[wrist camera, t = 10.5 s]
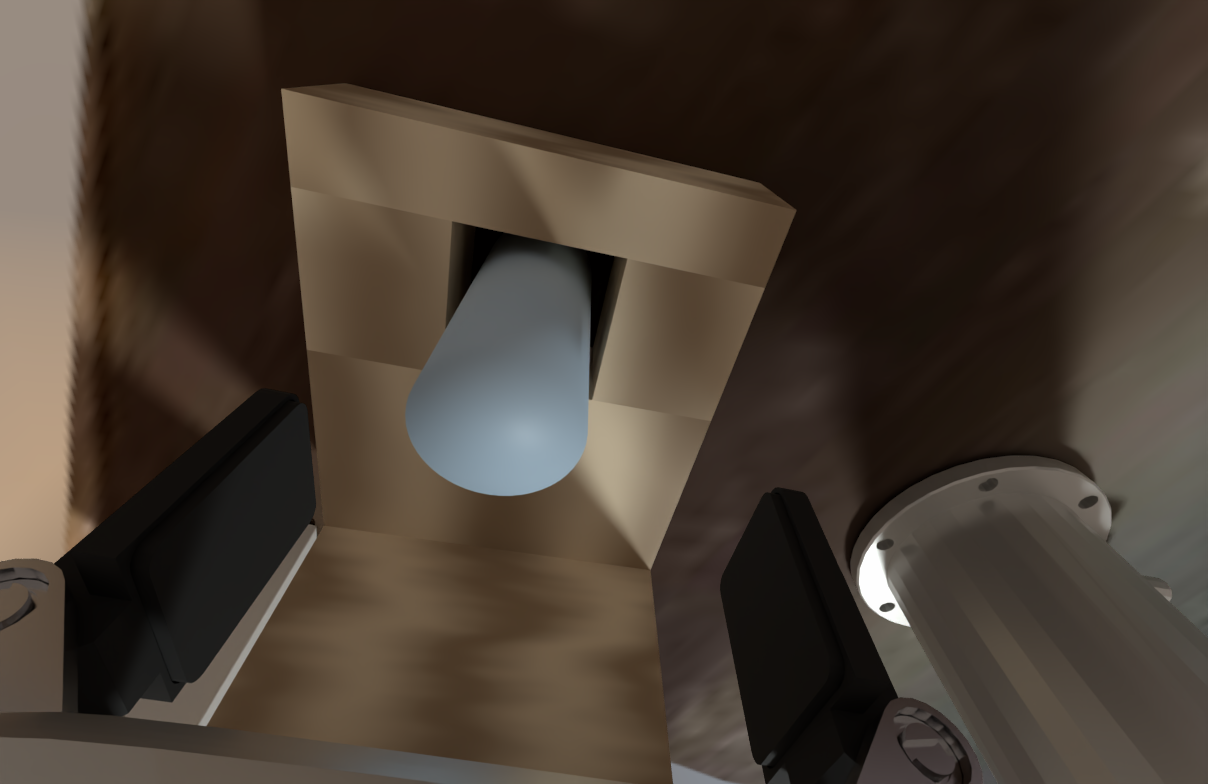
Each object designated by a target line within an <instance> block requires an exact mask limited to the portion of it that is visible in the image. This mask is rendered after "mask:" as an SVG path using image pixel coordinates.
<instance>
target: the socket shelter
mask: <svg viewBox="0 0 1208 784" xmlns="http://www.w3.org/2000/svg"><path fill="white" fill-rule="evenodd" d="M281 92H282V102H283V112H284V122H285V133H286V143H287V153H288V163H289V173H290V184H291V194H292V204H293V214H294V225H295V235H296V245H297V255H298V265H299V276H300V286H301V296H302V306H303V316H304V327H305V337H306V347H307V357H308V367H309V378H310V388H311V398H312V408H313V419H314V429H315V439H316V449H317V459H318V470H319V480H320V490H321V500H322V510H323V521H324V526H323V528H322V530H321V532H320V533H319V535H318V537H317V538H316V540H315V542H314V543H313V545H312V547H311V549H310V550H309V552H308V554H307V555H306V557H305V559H304V561H303V562H302V564H301V566H300V567H299V569H298V571H297V572H296V574H295V576H294V578H293V579H292V581H291V583H290V584H289V586H288V588H287V589H286V591H285V593H284V595H283V596H282V598H281V600H280V601H279V603H278V605H277V607H276V608H275V610H274V612H273V613H272V615H271V617H270V618H269V620H268V622H267V624H266V625H265V627H264V629H263V630H262V632H261V634H260V635H259V637H258V639H257V641H256V642H255V644H254V646H253V647H252V649H251V651H250V653H249V654H248V656H247V658H246V659H245V661H244V663H243V664H242V666H241V668H240V670H239V671H238V673H237V675H236V676H235V678H234V680H233V681H232V683H231V685H230V687H229V688H228V690H227V692H226V693H225V695H224V697H223V699H222V700H221V702H220V704H219V705H218V707H217V709H216V710H215V712H214V714H213V716H212V717H211V719H210V721H209V722H208V724H207V726H209V727H218V728H227V729H234V730H242V731H249V732H257V733H265V734H272V735H280V736H288V737H295V738H303V739H310V740H318V741H326V742H333V743H341V744H349V745H356V746H364V747H371V748H379V749H387V750H394V751H401V752H409V753H416V754H423V755H431V756H438V757H445V758H453V759H460V760H468V761H475V762H482V763H490V764H497V765H504V766H511V767H519V768H526V769H533V770H540V771H548V772H555V773H562V774H570V775H577V776H584V777H591V778H598V779H605V780H612V781H619V782H626V783H633V784H673V781H672V771H671V761H670V752H669V742H668V733H667V724H666V714H665V705H664V695H663V686H662V676H661V667H660V657H659V648H658V639H657V629H656V620H655V610H654V601H653V591H652V582H651V572H650V570H651V567H652V565H653V562H654V560H655V557H656V555H657V552H658V550H659V547H660V545H661V542H662V540H663V538H664V535H665V533H666V530H667V528H668V525H669V523H670V520H671V518H672V515H673V513H674V511H675V508H676V506H677V503H678V501H679V498H680V496H681V493H682V491H683V488H684V486H685V483H686V481H687V479H688V476H689V474H690V471H691V469H692V466H693V464H694V461H695V459H696V456H697V454H698V452H699V449H700V447H701V444H702V442H703V439H704V437H705V434H706V432H707V429H708V427H709V424H710V422H711V420H712V417H713V415H714V412H715V410H716V407H717V405H718V402H719V400H720V397H721V395H722V392H723V390H724V388H725V385H726V383H727V380H728V378H729V375H730V373H731V370H732V368H733V365H734V363H735V361H736V358H737V356H738V353H739V351H740V348H741V346H742V343H743V341H744V338H745V336H746V333H747V331H748V329H749V326H750V324H751V321H752V319H753V316H754V314H755V311H756V309H757V306H758V304H759V302H760V299H761V297H762V294H763V292H764V289H765V287H766V284H767V282H768V279H769V277H770V274H771V272H772V270H773V267H774V265H775V262H776V260H777V257H778V255H779V252H780V250H781V247H782V245H783V243H784V240H785V238H786V235H787V233H788V230H789V228H790V225H791V223H792V220H793V218H794V215H795V213H796V211H797V210H796V209H794V208H793V207H792V206H790V205H789V204H787V203H786V202H785V201H783V200H782V199H781V198H779V197H778V196H777V195H775V194H774V193H773V192H771V191H770V190H769V189H767V188H766V187H765V186H763V185H762V184H761V183H759V182H754V181H750V180H746V179H742V178H738V177H734V176H729V175H725V174H721V173H717V172H713V171H709V170H705V169H700V168H696V167H692V166H688V165H684V164H680V163H676V162H671V161H667V160H663V159H659V158H655V157H651V156H646V155H642V154H638V153H634V152H630V151H626V150H622V149H617V148H613V147H609V146H605V145H601V144H597V143H592V142H588V141H584V140H580V139H576V138H572V137H568V136H563V135H559V134H555V133H551V132H547V131H543V130H539V129H534V128H530V127H526V126H522V125H518V124H514V123H509V122H505V121H501V120H497V119H493V118H489V117H485V116H480V115H476V114H472V113H468V112H464V111H460V110H455V109H451V108H447V107H443V106H439V105H435V104H431V103H426V102H422V101H418V100H414V99H410V98H406V97H402V96H397V95H393V94H389V93H385V92H381V91H377V90H372V89H368V88H364V87H360V86H356V85H352V84H348V83H341V84H329V85H318V86H306V87H294V88H283V89H281ZM476 226H477V227H481V228H486V229H491V230H495V231H500V232H505V233H510V234H514V235H519V236H524V237H528V238H533V239H538V240H542V241H547V242H552V243H556V244H561V245H566V246H570V247H575V248H580V249H584V250H589V251H594V252H598V253H603V254H608V255H612V256H614V260H613V264H612V268H611V273H610V277H609V281H608V285H607V290H606V294H605V298H604V302H603V307H602V311H601V315H600V319H599V324H598V328H597V332H596V336H595V341H594V345H593V347H590V362H589V402H588V436H587V442H586V446H585V449H584V452H583V454H582V456H581V458H580V460H579V461H578V463H577V464H576V465H575V467H574V468H573V469H572V470H571V471H570V472H569V473H568V474H567V475H566V476H565V477H563V478H562V479H561V480H560V481H558V482H556V483H555V484H553V485H551V486H549V487H547V488H544V489H542V490H539V491H536V492H533V493H528V494H523V495H514V496H497V495H488V494H483V493H478V492H474V491H471V490H468V489H465V488H463V487H460V486H458V485H456V484H454V483H452V482H450V481H448V480H446V479H445V478H443V477H442V476H440V475H439V474H438V473H436V472H435V471H434V470H433V469H432V468H430V467H429V466H428V465H427V464H426V463H425V461H424V460H423V459H422V458H421V457H420V455H419V454H418V453H417V451H416V449H415V448H414V446H413V444H412V442H411V440H410V437H409V435H408V431H407V427H406V419H405V411H406V403H407V400H408V396H409V394H410V391H411V389H412V387H413V385H414V384H415V382H416V380H417V378H418V377H419V375H420V373H421V371H422V370H423V368H424V366H425V364H426V363H427V361H428V359H429V357H430V356H431V354H432V352H433V350H434V349H435V347H436V345H437V343H438V342H439V340H440V338H441V336H442V335H443V333H444V331H445V329H446V328H447V326H448V324H449V322H450V321H451V319H452V317H453V315H454V314H455V312H456V310H457V308H458V307H459V305H460V303H461V301H462V300H463V298H464V296H465V294H466V293H467V291H468V289H469V287H470V286H471V274H472V263H473V251H474V239H475V228H476Z"/></svg>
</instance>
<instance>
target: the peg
mask: <svg viewBox="0 0 1208 784" xmlns="http://www.w3.org/2000/svg"><path fill="white" fill-rule="evenodd" d="M591 281H592V271H591V265H590V261H589V258H588V255H587V253H586V251H585V250H584V249H580V248H575V247H570V246H566V245H561V244H556V243H552V242H547V241H542V240H538V239H533V238H528V237H524V236H519V235H514V234H510V233H503V234H502V235H501V236H500V237H499V238H498V239H497V241H496V242H495V244H494V245H493V247H492V249H491V251H490V252H489V254H488V256H487V258H486V259H485V261H484V263H483V265H482V266H481V268H480V270H479V272H478V273H477V275H476V277H475V279H474V280H473V282H472V284H471V286H470V287H469V289H468V291H467V293H466V294H465V296H464V298H463V300H462V301H461V303H460V305H459V307H458V308H457V310H456V312H455V314H454V315H453V317H452V319H451V321H450V322H449V324H448V326H447V328H446V329H445V331H444V333H443V335H442V336H441V338H440V340H439V342H438V343H437V345H436V347H435V349H434V350H433V352H432V354H431V356H430V357H429V359H428V361H427V363H426V364H425V366H424V368H423V370H422V371H421V373H420V375H419V377H418V378H417V380H416V382H415V384H414V385H413V387H412V389H411V391H410V394H409V396H408V400H407V403H406V411H405V419H406V427H407V431H408V435H409V437H410V440H411V442H412V444H413V446H414V448H415V449H416V451H417V453H418V454H419V455H420V457H421V458H422V459H423V460H424V461H425V463H426V464H427V465H428V466H429V467H430V468H432V469H433V470H434V471H435V472H436V473H438V474H439V475H440V476H442V477H443V478H445V479H446V480H448V481H450V482H452V483H454V484H456V485H458V486H460V487H463V488H465V489H468V490H471V491H474V492H478V493H483V494H488V495H497V496H514V495H523V494H528V493H533V492H536V491H539V490H542V489H544V488H547V487H549V486H551V485H553V484H555V483H556V482H558V481H560V480H561V479H562V478H563V477H565V476H566V475H567V474H568V473H569V472H570V471H571V470H572V469H573V468H574V467H575V465H576V464H577V463H578V461H579V460H580V458H581V456H582V454H583V452H584V449H585V446H586V442H587V436H588V402H589V362H590V321H591Z"/></svg>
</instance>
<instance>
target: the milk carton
mask: <svg viewBox="0 0 1208 784" xmlns="http://www.w3.org/2000/svg"><path fill="white" fill-rule="evenodd" d="M316 538H317V533H316V526H315V525H311V524H308V526H307V527H306V529H305V530H304V531H303V533H302V534H301V536H300V537H299V539H298V540H297V541H296V543H295V544H294V546H293V547H292V549H291V550H290V551H289V553H288V554H287V556H286V557H285V558H284V560H283V561H282V563H281V564H280V566H279V567H278V568H277V570H276V571H275V573H274V574H273V575H272V577H271V578H270V580H269V581H268V583H267V584H266V585H265V587H264V588H263V590H262V591H261V593H260V594H259V595H258V597H257V598H256V600H255V601H254V602H253V604H252V605H251V607H250V608H249V610H248V611H247V612H246V614H245V615H244V617H243V618H242V619H241V621H240V622H239V624H238V625H237V627H236V628H235V629H234V631H233V632H232V634H231V635H230V636H229V638H228V639H227V641H226V642H225V644H224V645H223V646H222V648H221V649H220V651H219V652H218V654H217V655H216V656H215V658H214V659H213V661H212V662H211V663H210V665H209V666H208V668H207V669H206V671H205V672H204V673H203V674H202V676H201V677H200V678H199V679H198V680H197V681H195V682H193V683H186V684H185V686H184V687H183V688H182V690H181V691H180V693H179V694H178V695H177V697H176V698H175V699H174V701H173V702H172V703H171V702H164V701H156V700H149V699H142V698H140V699H139V701H138V702H137V703H136V704H135V706H134V707H133V708H132V710H131V711H130V712H129V713H128V714H126V715H125V717H130V718H139V719H148V720H156V721H165V722H174V723H183V724H192V725H201V726H207V724H208V722H209V721H210V719H211V717H212V716H213V714H214V712H215V710H216V709H217V707H218V705H219V704H220V702H221V700H222V699H223V697H224V695H225V693H226V692H227V690H228V688H229V687H230V685H231V683H232V681H233V680H234V678H235V676H236V675H237V673H238V671H239V670H240V668H241V666H242V664H243V663H244V661H245V659H246V658H247V656H248V654H249V653H250V651H251V649H252V647H253V646H254V644H255V642H256V641H257V639H258V637H259V635H260V634H261V632H262V630H263V629H264V627H265V625H266V624H267V622H268V620H269V618H270V617H271V615H272V613H273V612H274V610H275V608H276V607H277V605H278V603H279V601H280V600H281V598H282V596H283V595H284V593H285V591H286V589H287V588H288V586H289V584H290V583H291V581H292V579H293V578H294V576H295V574H296V572H297V571H298V569H299V567H300V566H301V564H302V562H303V561H304V559H305V557H306V555H307V554H308V552H309V550H310V549H311V547H312V545H313V543H314V542H315V540H316Z"/></svg>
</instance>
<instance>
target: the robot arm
mask: <svg viewBox="0 0 1208 784" xmlns="http://www.w3.org/2000/svg"><path fill="white" fill-rule="evenodd" d="M315 508H316V499H315V488H314V477H313V466H312V455H311V444H310V434H309V423H308V412H307V407H306V405H305V404H303V403H299V399H298V397H297V395H295V394H292V393H287V392H281V391H276V390H271V389H266V388H264V389H260V390H258V391H257V392H255V393H254V394H253V395H252V396H251V397H249V398H248V399H247V400H246V401H245V402H244V403H242V404H241V405H240V406H239V407H238V408H237V409H235V410H234V411H233V412H232V413H231V414H230V415H228V416H227V417H226V418H225V419H224V420H222V421H221V422H220V423H219V424H218V425H217V426H215V427H214V428H213V429H212V430H211V431H210V432H208V433H207V434H206V435H205V436H204V437H203V438H201V439H200V440H199V441H198V442H197V443H195V444H194V445H193V446H192V447H191V448H190V449H188V450H187V451H186V452H185V453H184V454H182V455H181V456H180V457H179V458H178V459H176V460H175V461H174V462H173V463H172V464H171V465H169V466H168V467H167V468H166V469H165V470H164V471H162V472H161V473H160V474H159V475H158V476H156V477H155V478H154V479H153V480H152V481H151V482H149V483H148V484H147V485H146V486H145V487H144V488H142V489H141V490H140V491H139V492H138V493H137V494H135V495H134V496H133V497H132V498H131V499H129V500H128V501H127V502H126V503H125V504H124V505H122V506H121V507H120V508H119V509H118V510H117V511H115V512H114V513H113V514H112V515H111V516H110V517H108V518H107V519H106V520H105V521H104V522H102V523H101V524H100V525H99V526H98V527H97V528H95V529H94V530H93V531H92V532H91V533H90V534H88V535H87V536H86V537H85V538H84V539H82V540H81V541H80V542H79V543H78V544H77V545H75V546H74V547H73V548H72V549H71V550H70V551H68V552H67V553H66V554H65V555H64V556H63V557H61V558H60V559H59V560H58V561H57V562H55V563H54V564H53V563H52V562H48V561H43V560H39V559H12V560H7V561H1V562H0V784H633V783H626V782H619V781H612V780H605V779H598V778H591V777H584V776H577V775H570V774H562V773H555V772H548V771H540V770H533V769H526V768H519V767H511V766H504V765H497V764H490V763H482V762H475V761H468V760H460V759H453V758H445V757H438V756H431V755H423V754H416V753H409V752H401V751H394V750H387V749H379V748H371V747H364V746H356V745H349V744H341V743H333V742H326V741H318V740H310V739H303V738H295V737H288V736H280V735H272V734H265V733H257V732H249V731H242V730H234V729H227V728H218V727H209V726H201V725H192V724H183V723H174V722H165V721H156V720H148V719H139V718H130V717H125V715H126V714H128V713H129V712H130V711H131V710H132V708H133V707H134V706H135V704H136V703H137V702H138V701H139V699H140V698H142V699H149V700H156V701H164V702H171V703H172V702H173V701H174V699H175V698H176V697H177V695H178V694H179V693H180V691H181V690H182V688H183V687H184V686H185V684H186V683H193V682H195V681H197V680H198V679H199V678H200V677H201V676H202V674H203V673H204V672H205V671H206V669H207V668H208V666H209V665H210V663H211V662H212V661H213V659H214V658H215V656H216V655H217V654H218V652H219V651H220V649H221V648H222V646H223V645H224V644H225V642H226V641H227V639H228V638H229V636H230V635H231V634H232V632H233V631H234V629H235V628H236V627H237V625H238V624H239V622H240V621H241V619H242V618H243V617H244V615H245V614H246V612H247V611H248V610H249V608H250V607H251V605H252V604H253V602H254V601H255V600H256V598H257V597H258V595H259V594H260V593H261V591H262V590H263V588H264V587H265V585H266V584H267V583H268V581H269V580H270V578H271V577H272V575H273V574H274V573H275V571H276V570H277V568H278V567H279V566H280V564H281V563H282V561H283V560H284V558H285V557H286V556H287V554H288V553H289V551H290V550H291V549H292V547H293V546H294V544H295V543H296V541H297V540H298V539H299V537H300V536H301V534H302V533H303V531H304V530H305V529H306V527H307V526H308V524H309V523H310V521H311V520H312V517H313V515H314V512H315ZM1111 524H1112V512H1111V506H1110V504H1109V501H1108V499H1107V496H1106V494H1105V493H1104V492H1103V491H1102V490H1101V489H1100V488H1099V487H1098V486H1097V485H1096V483H1094V482H1093V481H1092V480H1091V479H1089V478H1088V477H1087V476H1085V475H1084V474H1083V473H1082V472H1080V471H1079V470H1078V469H1076V468H1075V467H1073V466H1071V465H1068V464H1066V463H1064V462H1061V461H1059V460H1055V459H1050V458H1045V457H1039V456H1014V455H1010V456H1002V457H995V458H987V459H981V460H977V461H973V462H969V463H965V464H962V465H958V466H955V467H952V468H950V469H947V470H945V471H942V472H939V473H937V474H934V475H932V476H930V477H928V478H926V479H924V480H922V481H920V482H919V483H917V484H915V485H913V486H911V487H909V488H908V489H906V490H905V491H904V492H902V493H901V494H899V495H898V496H896V497H895V498H894V499H892V500H891V501H889V502H888V503H887V504H886V505H885V506H884V507H883V508H882V509H881V510H880V511H879V512H878V513H877V514H875V515H874V516H873V518H872V519H871V520H870V522H869V523H868V524H867V525H866V527H865V528H864V529H863V531H862V532H861V534H860V536H859V538H858V540H857V542H856V544H855V546H854V548H853V552H852V557H851V562H850V566H851V576H852V579H853V581H854V583H855V586H856V588H857V590H858V592H859V594H860V596H861V597H862V599H863V601H864V602H865V604H866V605H867V606H868V607H869V608H870V609H871V610H872V611H873V612H875V613H876V614H878V615H880V616H881V617H883V618H885V619H887V620H889V621H892V622H895V623H899V624H902V625H906V626H910V627H911V628H912V630H913V632H914V634H915V635H916V637H917V639H918V641H919V643H920V644H921V646H922V648H923V650H924V652H925V653H926V655H927V657H928V659H929V661H930V662H931V664H932V666H933V668H934V670H935V671H936V673H937V675H938V677H939V679H940V680H941V682H942V684H943V686H944V688H945V689H946V691H947V693H948V695H949V697H950V698H951V700H952V702H953V704H954V706H955V707H956V709H957V711H958V713H959V715H960V716H961V718H962V720H963V722H964V723H965V725H966V727H967V729H968V731H969V732H970V734H971V736H972V738H973V740H974V741H975V743H976V745H977V747H978V749H979V750H980V752H981V754H982V756H983V758H984V759H985V761H986V763H987V765H988V767H989V768H990V770H991V772H992V774H993V776H994V777H995V779H996V781H997V783H998V784H1208V638H1207V637H1206V636H1205V635H1204V634H1203V633H1202V632H1201V631H1200V630H1199V629H1198V628H1197V627H1196V626H1195V625H1194V624H1193V623H1191V622H1190V621H1189V620H1188V619H1187V618H1186V617H1185V616H1184V615H1183V614H1182V613H1181V612H1180V611H1179V610H1178V609H1177V608H1176V607H1175V606H1173V605H1172V604H1171V603H1170V602H1169V601H1170V600H1171V598H1172V590H1171V588H1170V587H1169V586H1168V584H1167V583H1166V582H1165V581H1163V580H1161V579H1159V578H1155V577H1149V576H1142V575H1141V574H1140V573H1138V572H1137V571H1136V570H1135V569H1134V568H1133V567H1132V566H1131V565H1130V564H1129V563H1128V562H1127V561H1126V560H1125V559H1124V558H1123V557H1121V556H1120V555H1119V554H1118V553H1117V552H1116V551H1115V550H1114V549H1113V548H1112V547H1111V546H1110V545H1109V544H1108V543H1107V542H1106V541H1107V537H1108V534H1109V531H1110V527H1111ZM720 591H721V597H722V602H723V608H724V613H725V618H726V623H727V628H728V633H729V638H730V643H731V649H732V654H733V659H734V664H735V669H736V674H737V679H738V684H739V690H740V695H741V700H742V705H743V710H744V715H745V720H746V725H747V731H748V736H749V741H750V746H751V751H752V755H753V758H754V760H755V762H756V763H757V764H759V765H762V768H763V773H764V778H765V783H766V784H983V772H982V769H981V766H980V763H979V761H978V758H977V755H976V754H975V752H974V750H973V749H972V747H971V745H970V744H969V742H968V740H967V739H966V738H965V736H964V735H963V734H962V733H961V732H960V730H959V729H958V728H957V727H956V726H955V725H954V724H953V723H952V722H951V721H950V720H949V719H948V718H946V717H945V716H944V715H943V714H942V713H941V712H939V711H938V710H936V709H934V708H933V707H931V706H930V705H928V704H926V703H924V702H921V701H919V700H916V699H913V698H903V697H900V698H898V696H897V694H896V692H895V689H894V687H893V685H892V683H891V681H890V678H889V676H888V674H887V672H886V669H885V667H884V665H883V663H882V661H881V658H880V656H879V654H878V652H877V649H876V647H875V645H874V643H873V641H872V638H871V636H870V634H869V632H868V629H867V627H866V625H865V623H864V621H863V618H862V616H861V614H860V612H859V609H858V607H857V605H856V603H855V601H854V598H853V596H852V594H851V592H850V589H849V587H848V585H847V583H846V581H845V578H844V576H843V574H842V572H841V570H840V568H839V566H838V564H837V561H836V559H835V557H834V555H833V552H832V550H831V548H830V546H829V544H828V541H827V539H826V537H825V535H824V532H823V530H822V528H821V526H820V524H819V521H818V519H817V517H816V515H815V512H814V510H813V508H812V506H811V503H810V501H809V499H808V497H807V495H806V494H805V493H803V492H799V491H794V490H789V489H784V488H779V487H778V488H775V489H774V490H773V491H772V492H771V493H765V494H764V495H763V496H762V498H761V500H760V502H759V504H758V506H757V508H756V510H755V512H754V514H753V516H752V518H751V520H750V522H749V524H748V526H747V528H746V530H745V532H744V534H743V536H742V538H741V539H740V541H739V543H738V545H737V547H736V549H735V551H734V553H733V555H732V557H731V559H730V561H729V563H728V565H727V567H726V569H725V571H724V573H723V575H722V578H721V584H720Z"/></svg>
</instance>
